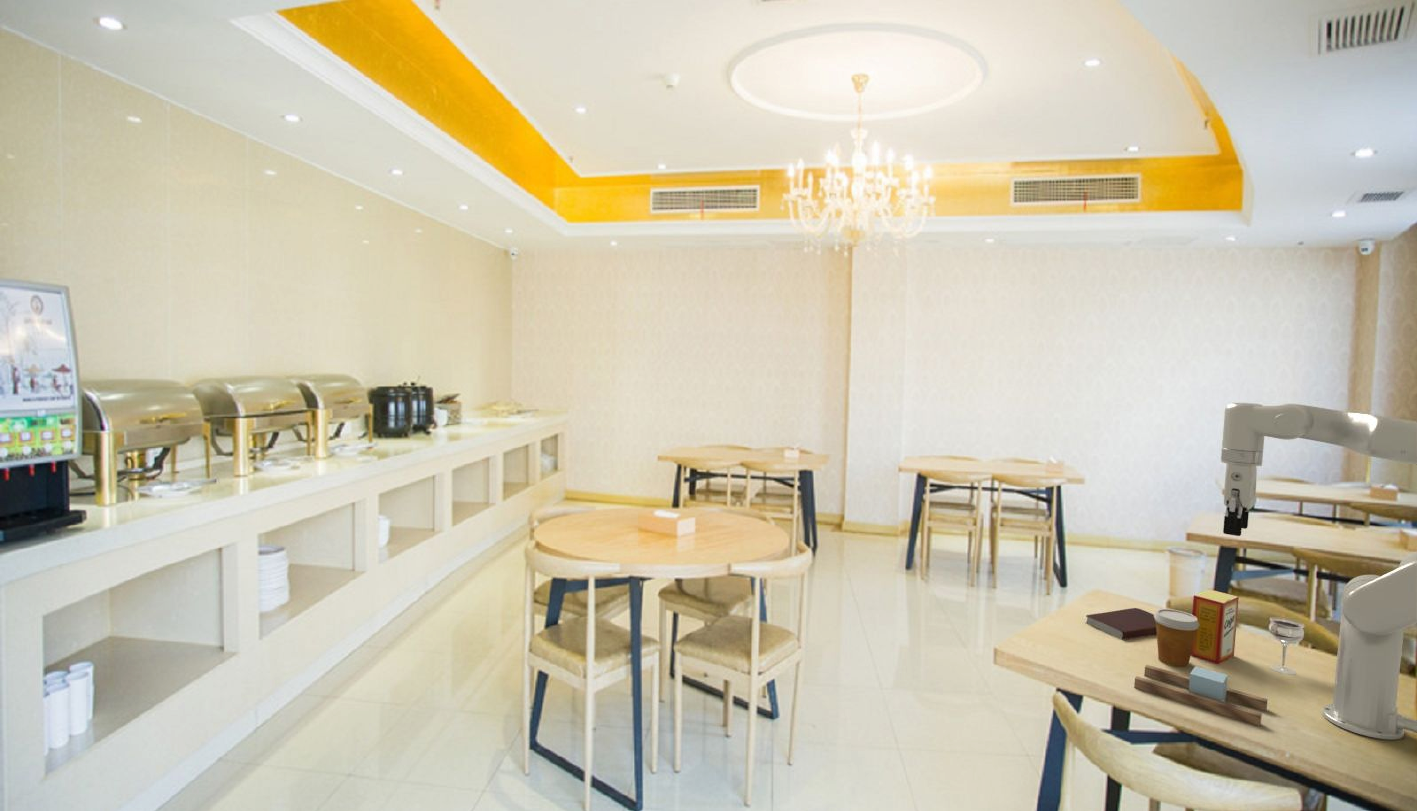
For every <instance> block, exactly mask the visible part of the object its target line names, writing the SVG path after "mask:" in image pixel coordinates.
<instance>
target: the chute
mask: <svg viewBox="0 0 1417 811" xmlns="http://www.w3.org/2000/svg"><path fill="white" fill-rule="evenodd" d="M1143 676H1144V677H1141V676H1136V677H1134V686H1133V687H1134V688H1135V689H1138V690H1140V691H1145V692H1147V693H1151V694H1153V695H1158V696H1160V697H1164V698H1167V699H1171V700H1172V701H1173V700H1174V701H1177V702H1180V703H1183V704H1186V705H1190V706H1192V707H1195V708H1199V709H1203V710H1206V711H1209V712H1211V713H1214V714H1215V713H1216V714H1218V715H1222V716H1225V717H1229V718H1232V719H1235V720H1238V721H1242V722H1244V723H1248V724H1250V725H1253V726H1254V725H1255V726H1257V727H1260V726H1261V724H1262V715H1263V714H1262V713H1261V712H1258V711H1254V710H1252V709H1256V710H1260V711H1263V712H1266V711H1267V709H1268V701H1269V700H1268V698H1265V697H1261V696H1257V695H1254V694H1251V693H1247V692H1244V691H1240V690H1238V689H1234V688H1229V687H1227V689H1226V701H1229V702H1233V703H1236V704H1239V705H1243V706H1246V707H1249V708H1252V709H1248V708H1245V707H1242V706H1237V705H1234V704H1231V703H1228V702H1226V701H1225V702H1222V701H1218V700H1215V699H1212V698H1208V697H1205V696H1202V695H1198V694H1195V693H1192V692H1189V681H1190V676H1188V675H1186V674H1185V675H1184V674H1181V673H1177V672H1174V671H1170V670H1167V669H1163V668H1160V667H1156V666H1153V665H1149V664H1146V665H1145V666H1144V673H1143ZM1145 677H1148V678H1152V679H1155V681H1154V680H1151V679H1147V678H1145ZM1156 680H1158V681H1161V682H1165V683H1169V684H1171V685H1175V686H1179V687H1182V688H1184V689H1187V690H1184V689H1181V688H1177V687H1175V686H1170V685H1168V684H1164V683H1161V682H1158V681H1156Z"/></svg>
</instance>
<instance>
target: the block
mask: <svg viewBox="0 0 1417 811" xmlns="http://www.w3.org/2000/svg"><path fill="white" fill-rule="evenodd" d="M1189 677H1190V681H1189V689H1188V692H1192V693H1195V694H1198V695H1202V696H1205V697H1208V698H1212V699H1215V700H1218V701H1222V702H1225V703H1226V701H1227V700H1226V689H1227V688H1228V687H1227V686H1228V674H1225V673H1221V672H1218V671H1214V670H1210V669H1207V668H1204V667H1200V666H1197V665H1196V666H1194V668H1193V669H1192V670H1191V672H1190V674H1189Z"/></svg>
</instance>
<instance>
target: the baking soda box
mask: <svg viewBox="0 0 1417 811" xmlns="http://www.w3.org/2000/svg"><path fill="white" fill-rule="evenodd" d="M1239 597H1240V596H1238V595H1234V594H1230V593H1226V592H1221V591H1218V590H1215V589H1210V588H1209V589H1207V590H1203V591H1201V592H1198V593H1195V595H1193V600H1192V602H1193V603H1192V614H1191V615H1193V616H1195V617H1196V618H1197V620H1198V623H1199V624H1200V625H1199V627H1198V629H1197V631H1196V635H1195V639H1194V643H1193V648H1192V652H1191V656H1190V657H1194V658H1198V659H1201V660H1204V661H1207V662H1210V663H1213V664H1216V665H1220V664H1222V663H1223V662H1225V661H1227V660H1229V659H1231V658H1233V657H1234V656H1235V647H1236V634H1237V623H1238V622H1237V620H1238V613H1239V612H1238V609H1239V600H1240V599H1239Z"/></svg>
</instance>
